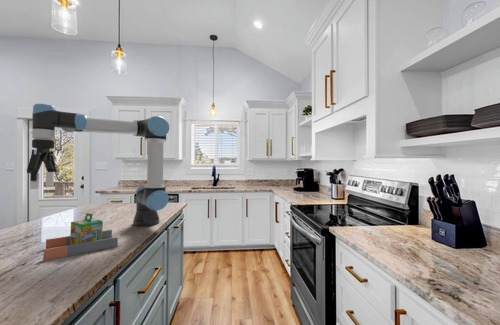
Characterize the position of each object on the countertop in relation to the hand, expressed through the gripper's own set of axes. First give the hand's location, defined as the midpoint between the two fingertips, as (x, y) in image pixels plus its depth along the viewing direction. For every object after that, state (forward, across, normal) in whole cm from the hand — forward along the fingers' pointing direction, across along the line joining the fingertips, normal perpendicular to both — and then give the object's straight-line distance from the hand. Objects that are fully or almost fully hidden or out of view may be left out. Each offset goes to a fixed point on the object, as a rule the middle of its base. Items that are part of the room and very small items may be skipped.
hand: (42, 187), depth 105 cm
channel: (+26, +6, +17) cm, 32 cm away
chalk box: (+27, +6, +19) cm, 33 cm away
